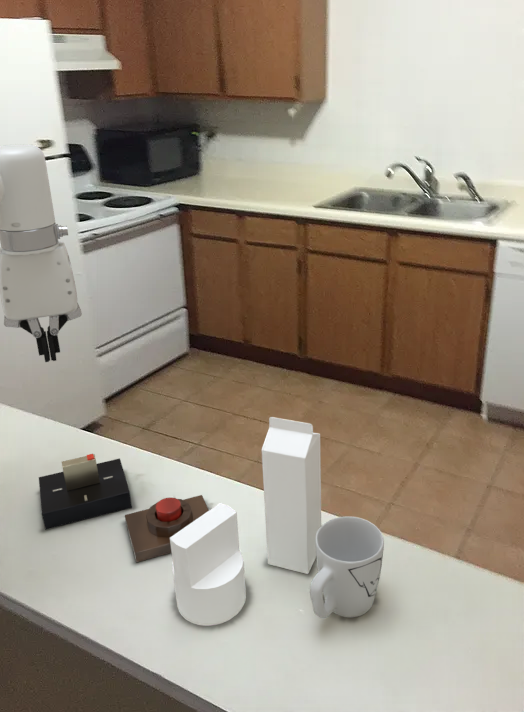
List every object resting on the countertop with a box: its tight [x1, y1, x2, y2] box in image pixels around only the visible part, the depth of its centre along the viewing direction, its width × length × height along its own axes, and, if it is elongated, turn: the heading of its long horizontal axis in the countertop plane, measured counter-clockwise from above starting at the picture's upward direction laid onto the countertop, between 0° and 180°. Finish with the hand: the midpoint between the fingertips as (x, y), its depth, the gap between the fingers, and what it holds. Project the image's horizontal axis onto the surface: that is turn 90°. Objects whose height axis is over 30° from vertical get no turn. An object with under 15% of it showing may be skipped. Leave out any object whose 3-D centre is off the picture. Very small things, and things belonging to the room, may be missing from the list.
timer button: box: [155, 497, 182, 522], centre depth 98 cm, size 4×4×2 cm
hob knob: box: [61, 453, 100, 491], centre depth 105 cm, size 5×2×5 cm, turn 112°
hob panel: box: [38, 458, 133, 531], centre depth 106 cm, size 13×10×3 cm
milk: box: [261, 416, 322, 575], centre depth 89 cm, size 6×6×22 cm
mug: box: [309, 515, 385, 620], centre depth 83 cm, size 11×8×10 cm
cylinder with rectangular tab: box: [170, 502, 247, 627], centre depth 85 cm, size 9×9×12 cm
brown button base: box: [124, 494, 210, 563], centre depth 99 cm, size 12×9×4 cm
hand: (50, 357), depth 100 cm, fingers closed
